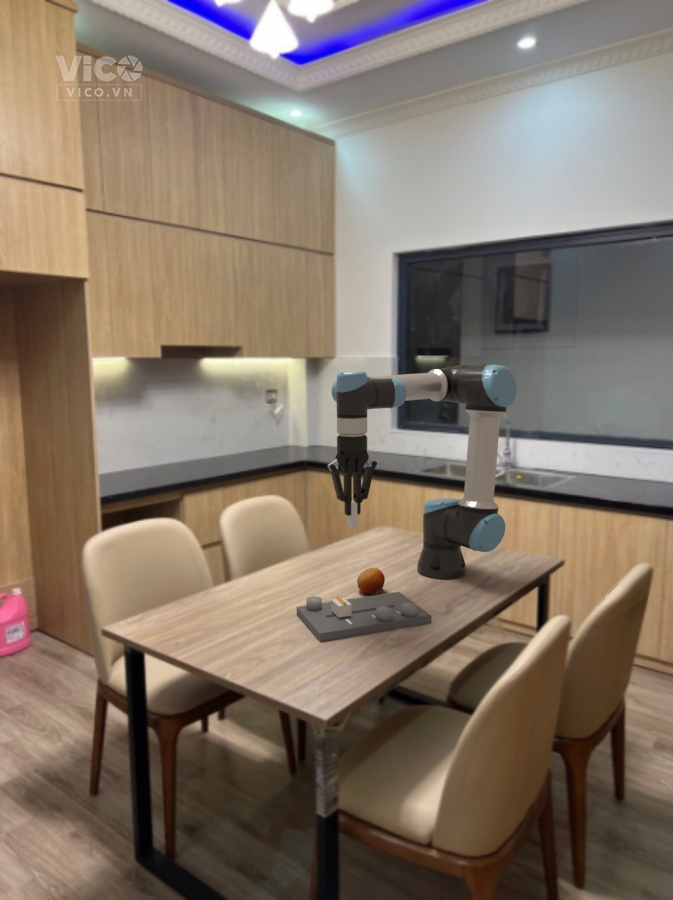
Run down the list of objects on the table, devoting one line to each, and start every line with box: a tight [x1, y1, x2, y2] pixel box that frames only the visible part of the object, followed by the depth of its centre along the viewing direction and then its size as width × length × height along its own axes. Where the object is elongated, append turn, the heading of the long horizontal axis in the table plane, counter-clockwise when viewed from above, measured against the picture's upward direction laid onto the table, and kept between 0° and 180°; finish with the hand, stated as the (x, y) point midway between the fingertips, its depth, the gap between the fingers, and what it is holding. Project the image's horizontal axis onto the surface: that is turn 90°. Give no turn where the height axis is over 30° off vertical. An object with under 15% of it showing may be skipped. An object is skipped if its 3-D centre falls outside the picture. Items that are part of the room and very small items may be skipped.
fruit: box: [356, 567, 386, 596], centre depth 186 cm, size 8×8×8 cm
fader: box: [330, 595, 351, 618], centre depth 164 cm, size 4×5×4 cm
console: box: [296, 591, 432, 642], centre depth 167 cm, size 30×18×4 cm, turn 111°
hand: (352, 527), depth 163 cm, fingers closed
